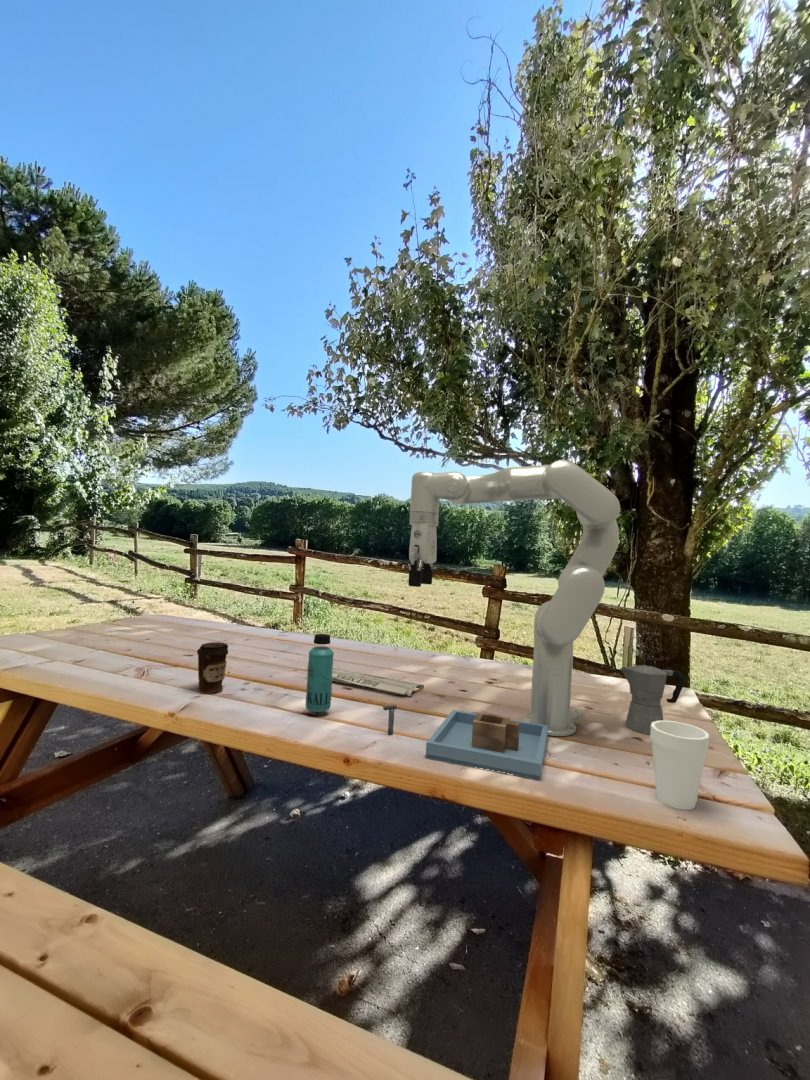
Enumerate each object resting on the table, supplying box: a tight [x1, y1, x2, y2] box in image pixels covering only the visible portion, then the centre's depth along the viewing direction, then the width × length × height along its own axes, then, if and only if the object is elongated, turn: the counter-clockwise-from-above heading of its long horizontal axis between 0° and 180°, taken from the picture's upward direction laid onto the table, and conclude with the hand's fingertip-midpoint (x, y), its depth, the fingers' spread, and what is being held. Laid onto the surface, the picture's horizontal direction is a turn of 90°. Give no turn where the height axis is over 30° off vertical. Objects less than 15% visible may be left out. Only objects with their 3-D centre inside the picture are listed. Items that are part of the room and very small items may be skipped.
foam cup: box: [649, 720, 710, 811], centre depth 93 cm, size 10×9×13 cm
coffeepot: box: [619, 658, 686, 736], centre depth 131 cm, size 15×9×18 cm, turn 76°
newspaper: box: [332, 668, 425, 697], centre depth 157 cm, size 35×12×4 cm, turn 66°
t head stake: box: [382, 704, 397, 736], centre depth 117 cm, size 3×1×6 cm, turn 116°
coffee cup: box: [196, 641, 229, 694], centre depth 142 cm, size 9×8×13 cm
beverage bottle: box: [305, 633, 335, 713], centre depth 129 cm, size 6×7×20 cm
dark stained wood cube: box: [472, 711, 520, 753], centre depth 113 cm, size 10×7×6 cm
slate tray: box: [425, 709, 549, 781], centre depth 113 cm, size 23×23×3 cm
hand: (420, 585), depth 134 cm, fingers open, 9 cm apart
